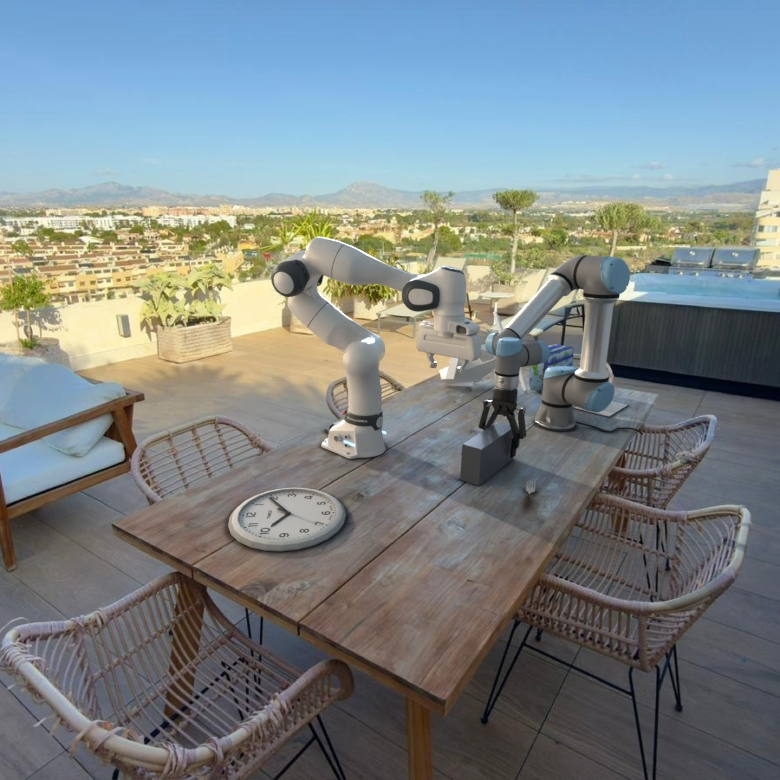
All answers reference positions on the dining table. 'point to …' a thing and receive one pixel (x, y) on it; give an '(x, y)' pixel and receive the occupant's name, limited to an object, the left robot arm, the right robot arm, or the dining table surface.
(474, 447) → the box
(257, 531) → the wall clock
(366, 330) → the left robot arm
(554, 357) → the lunch box
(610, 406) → the invitation card
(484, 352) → the white plastic object
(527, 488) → the fork
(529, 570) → the dining table surface
